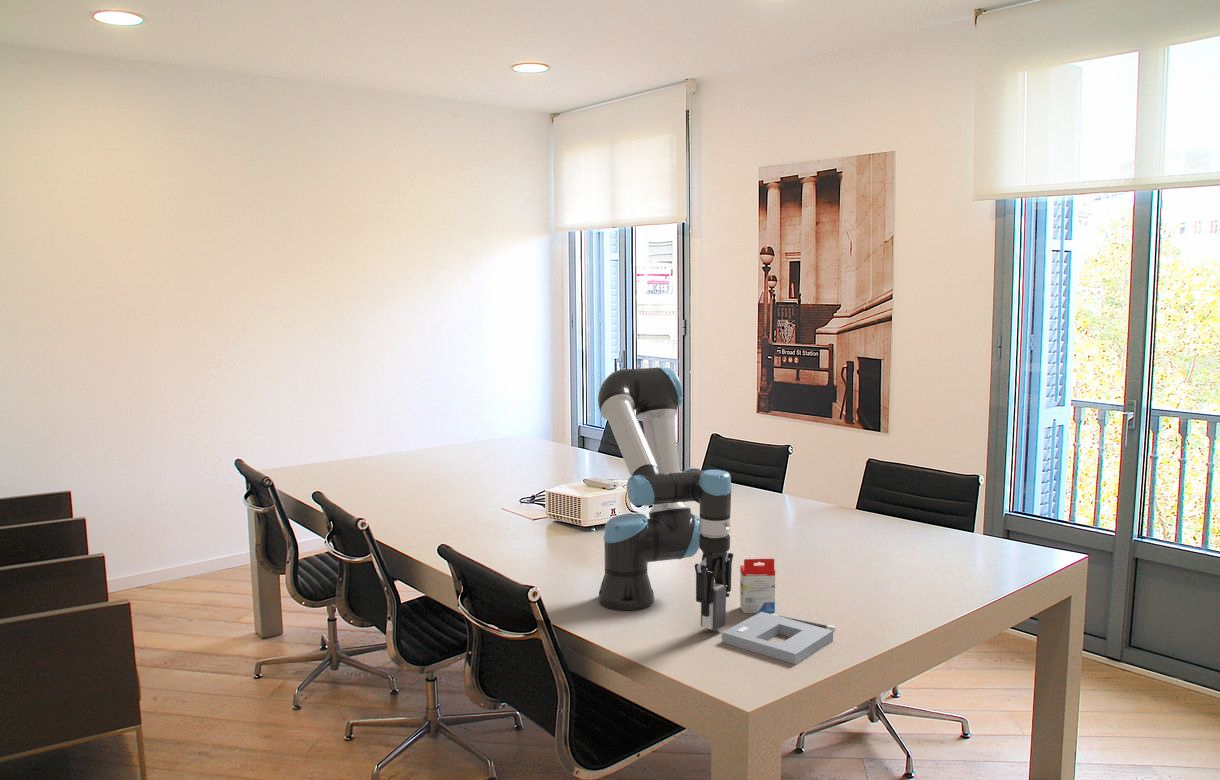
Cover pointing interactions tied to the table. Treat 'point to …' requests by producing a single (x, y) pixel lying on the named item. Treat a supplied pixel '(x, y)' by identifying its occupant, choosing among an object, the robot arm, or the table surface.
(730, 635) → the plate
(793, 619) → the cable
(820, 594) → the table surface
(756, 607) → the ink box
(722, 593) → the charger plug
